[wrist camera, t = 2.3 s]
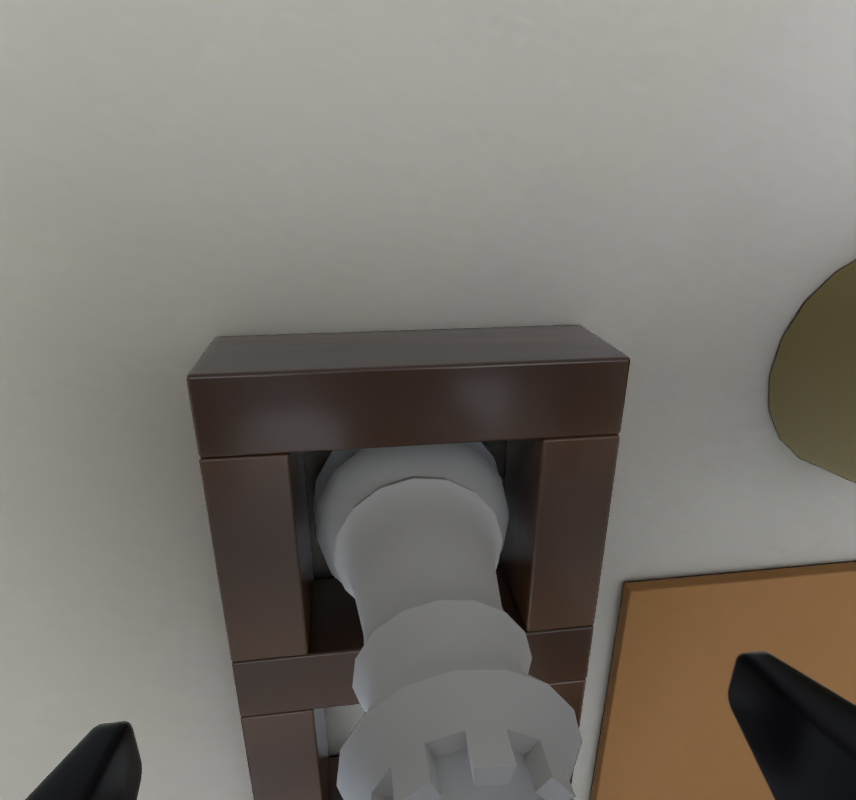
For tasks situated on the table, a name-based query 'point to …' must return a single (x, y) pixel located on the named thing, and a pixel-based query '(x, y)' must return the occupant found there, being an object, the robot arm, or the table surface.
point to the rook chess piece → (437, 633)
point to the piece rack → (391, 427)
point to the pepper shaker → (820, 378)
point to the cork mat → (712, 675)
